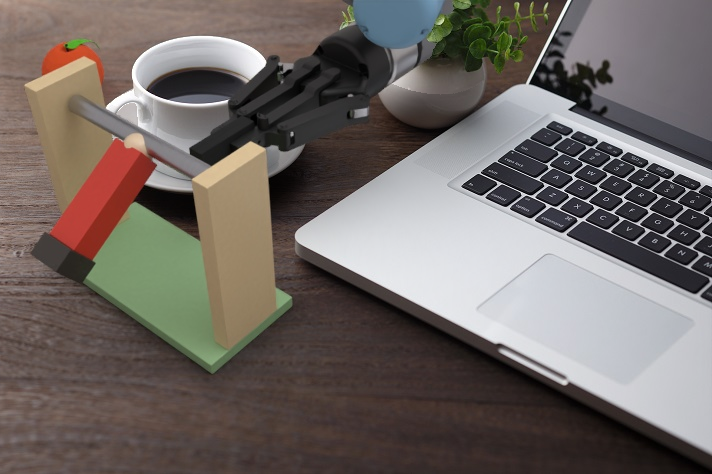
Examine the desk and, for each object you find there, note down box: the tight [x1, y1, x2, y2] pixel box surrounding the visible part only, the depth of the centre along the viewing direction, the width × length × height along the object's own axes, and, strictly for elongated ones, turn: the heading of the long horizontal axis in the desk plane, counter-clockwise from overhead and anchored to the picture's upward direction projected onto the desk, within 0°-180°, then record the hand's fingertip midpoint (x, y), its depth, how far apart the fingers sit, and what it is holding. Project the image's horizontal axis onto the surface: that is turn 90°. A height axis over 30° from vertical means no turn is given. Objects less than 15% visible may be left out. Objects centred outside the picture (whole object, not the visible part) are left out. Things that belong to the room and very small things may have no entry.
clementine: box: [40, 38, 105, 87], centre depth 96 cm, size 8×7×7 cm
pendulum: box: [29, 94, 212, 285], centre depth 64 cm, size 17×3×13 cm
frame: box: [23, 57, 293, 375], centre depth 69 cm, size 21×10×18 cm, turn 52°
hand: (196, 163), depth 71 cm, fingers closed
